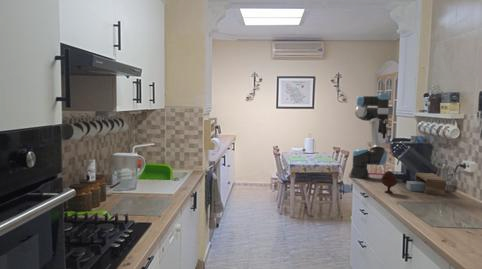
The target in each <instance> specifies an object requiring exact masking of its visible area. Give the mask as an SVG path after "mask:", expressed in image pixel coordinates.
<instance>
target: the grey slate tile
mask: <svg viewBox="0 0 482 269" xmlns="http://www.w3.org/2000/svg"><path fill="white" fill-rule="evenodd" d="M425 184H426V182H419V181H415V180H406V183H405V186H406V189H407V190H408V191H410V192H423V190H425Z"/></svg>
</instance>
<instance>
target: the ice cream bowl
mask: <svg viewBox="0 0 482 269" xmlns="http://www.w3.org/2000/svg"><path fill="white" fill-rule="evenodd" d="M380 181H381V183H382V185H383V186H385V187H386V188H387V190H385V191H384V194H388V195H389V194H390V195H392V194H393V193H394V192H393V191H392V190H391V187H395V186H396V185H397V184H398V182H399V180H398V178H396V177H395V176H394V173H393V172H392V171H390V170H386V171H385V172H384V173H383V175H382V176H381V177H380Z"/></svg>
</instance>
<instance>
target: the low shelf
mask: <svg viewBox="0 0 482 269" xmlns="http://www.w3.org/2000/svg"><path fill="white" fill-rule="evenodd" d="M414 181H419V182H426V184H425V190H423V191H422V192H423V193H424V194H425V195H435V196H437V195H439V196H441V195H442V196H446V185H447V184H446V183H447V182H446V181H447V180H446V179H444V178H443V177H441V176H439V175H438V174H435V173H432V172H429V173H428V172H415V180H414Z"/></svg>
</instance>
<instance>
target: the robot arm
mask: <svg viewBox="0 0 482 269" xmlns="http://www.w3.org/2000/svg"><path fill="white" fill-rule="evenodd" d="M377 95H378V96H377ZM377 95H374V96H373V95H371V96H370V95H360V96H357V97H356V106H357V107H356V108H355V112H354V114H355V116H356V117H357V118H358V119H360V120H362V121H364V122H365V121H369V124H370V126H371V128H370V130H371V147H370V149H368V148H357V149H354V150H353V151H352V167H351V171H350V173H349V176H350V178H356V179H368V178H370V173H369V168H368V165H369V166H384V165H386V162H387V159H388V158H387V157H388V151H387V150H386V148H385V147H384V145H383V144H386V142H387V141H386V138H387V134H388V132H387V120H388V119H389V112H390V109H389V103H390V102H389V101H390V100H389V99H390V94H389V93H387V92H384V93H380V92H379V93H378V94H377Z"/></svg>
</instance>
